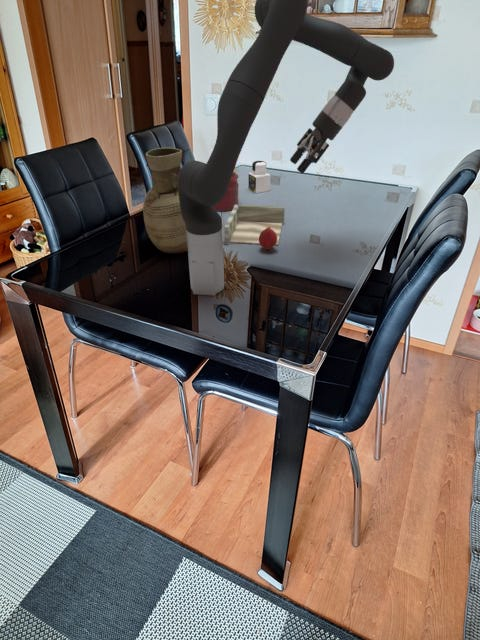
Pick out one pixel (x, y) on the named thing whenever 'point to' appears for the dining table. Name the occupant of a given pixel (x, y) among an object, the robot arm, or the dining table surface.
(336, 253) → the dining table surface
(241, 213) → the tray
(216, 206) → the canister
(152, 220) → the ceramic vessel
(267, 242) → the pomegranate
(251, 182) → the medicine bottle
